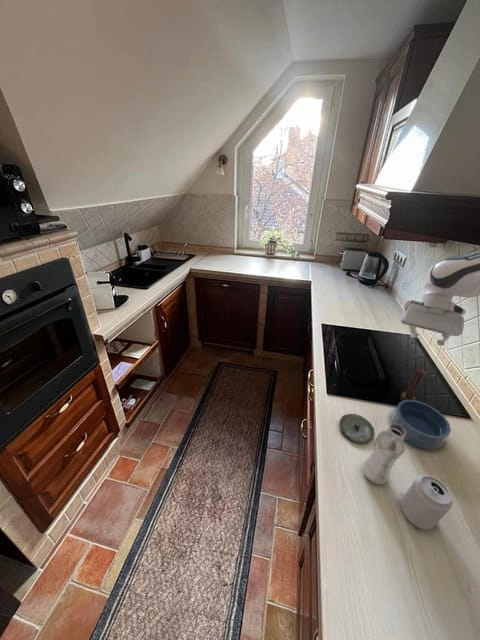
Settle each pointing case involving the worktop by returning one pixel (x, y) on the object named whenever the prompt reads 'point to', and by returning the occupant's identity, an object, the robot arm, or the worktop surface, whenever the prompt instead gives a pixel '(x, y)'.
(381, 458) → the plastic bottle
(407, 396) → the stirring stick
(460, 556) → the worktop surface
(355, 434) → the lid
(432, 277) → the robot arm
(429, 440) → the bowl
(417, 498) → the can
